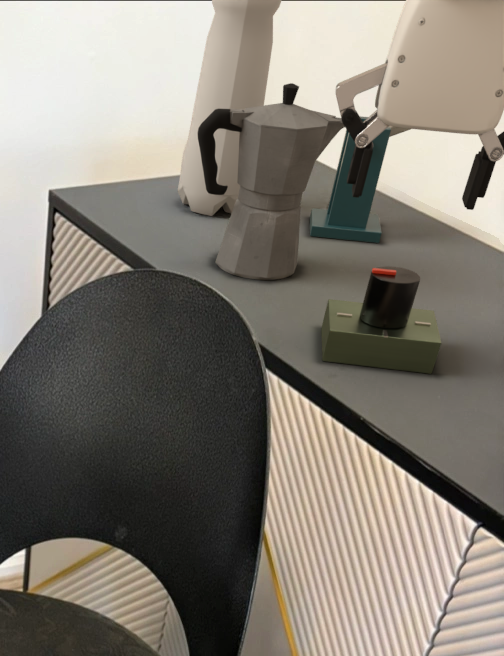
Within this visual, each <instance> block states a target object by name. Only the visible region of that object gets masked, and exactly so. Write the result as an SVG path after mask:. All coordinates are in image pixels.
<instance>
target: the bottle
mask: <svg viewBox="0 0 504 656" xmlns="http://www.w3.org/2000/svg"><path fill="white" fill-rule="evenodd" d="M211 4H212V8H213V10H214V15H213V18H212V21H211V24H210V27H209V30H208V34H207V35H206V39H205V40H206V42H205V46H204V51H203V56H202V61H201V67H200V73H199V77H198V83H197V89H196V93H195V98H194V104H193V109H192V114H191V120H190V125H189V130H188V136H187V140H186V142H185V145H184V149H183V151H182V157H181V165H180V172H179V180H178V181H179V182H178V187H177V193H178V196H179V198H180V201H181V203H182V205H189V208H190V211H191V212H194V213H197V214H200V215H205V216H209V217H213V216H214V215H215V214H216V213H217V212H218V211H219V210H220V209H221V208H222V209H223V210H224V212H225V213H227V214H228V213H229V214H230V215H231V214H232V211H233V208H234V205H235V202H236V200H237V199H238V194H239V189H240V185H239V184H238V183H237V180H238V158H239V135H240V132H236V131H230V130H226V129H217V130H216V131H215V132H214V139H215V144H216V148H215V160H216V163H217V166H218V172H217V178H216V181H217V184H219V185H223V186H228V188H227V191H226V192H225V194H224V195H213V194H209V193H208V192H207V190H206V185H205V179H204V172H203V166H202V160H201V153H200V147H199V142H198V134H197V133H198V128H199V126H200V125H201V123H202V122H203V121H204V120H205V119H206V118H207V117H208V116H209V115H210V114H211V113H212V112H213V111H214V110H215V109H244V110H245V108H250V107H257V106H264V105H265V99H266V92H267V85H268V79H269V73H270V72H269V71H270V65H271V59H272V58H271V57H272V51H273V43H274V16H275V14H276V12H278V10H279V8H280V7H281V4H282V0H211Z"/></svg>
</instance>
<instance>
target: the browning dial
mask: <svg viewBox="0 0 504 656" xmlns="http://www.w3.org/2000/svg"><path fill="white" fill-rule="evenodd" d="M420 282H421V276H420V274H419V273H417V272H415V271H413V270H411V269H408V268H405V267H401V266H389V265H388V266H387V265H385V266H377V267H372V269H371V271H370V275H369V279H368V282H367V285H366V286H367V287H366V290H365V294H364V298H363V301H362V303H363V305H362V309H361V312H360V319H361V320H362V321H364V322H365V323H367V324H369V325H372V326H376V327H380V328H390V329H392V328H401V327H404V326H405V325H406V324H407V323H408V319H409V316H410V313H411V309H412V308H413V307H414V302H415V299H416V296H417V293H418V289H419V286H420Z"/></svg>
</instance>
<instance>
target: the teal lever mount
mask: <svg viewBox="0 0 504 656" xmlns="http://www.w3.org/2000/svg"><path fill="white" fill-rule="evenodd" d="M359 116H360V118H361V119H362V121H363V122H364V121H365V120H366V119H367V118H368V117H369V116H361V115H359ZM390 132H391V128H390V127H388V128H386V129H385V130H384V131H383V132H382V133H381V134H380V135H378V136H377V137H376V138H375V139H374V140H373V141H372V148H373V153H372V157H371V161H370V165H369V169H368V173H367V177H366V181H365V184H364V188H363V192H362V196H359V198H356V197H353V195H352V186H353V184H347V177H348V172H349V168H350V164H351V160H352V156H353V152H354V148H355V142H354V140H353V139H352V137H351V136H350V134H349V132H348V131H347V129H346V128H345V133H344V137H343V142H342V146H341V150H340V154H339V157H338V158H339V159H338V163H337V169H336V171H335V176H334V181H333V184H332V188H331V194H330V197H329V201H328V206H327V209H326V208H315V207H314V208H313V207H312V208H311V210H310V215H309V236H310V237H315V238H316V237H317V238H325V239H333V240H334V239H336V240H345V241H355V242H362V243H363V242H364V243H374V244H380V242H381V237H382V233H383V232H382V227H381V221H380V220H381V219H380V215H379V214H377V213H376V214H374V213H371V210H372V205H373V202H374V197H375V194H376V190H377V186H378V183H379V179H380V174H381V170H382V167H383V163H384V159H385V155H386V152H387V148H388V144H389V139H390V137H389V136H390Z"/></svg>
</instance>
